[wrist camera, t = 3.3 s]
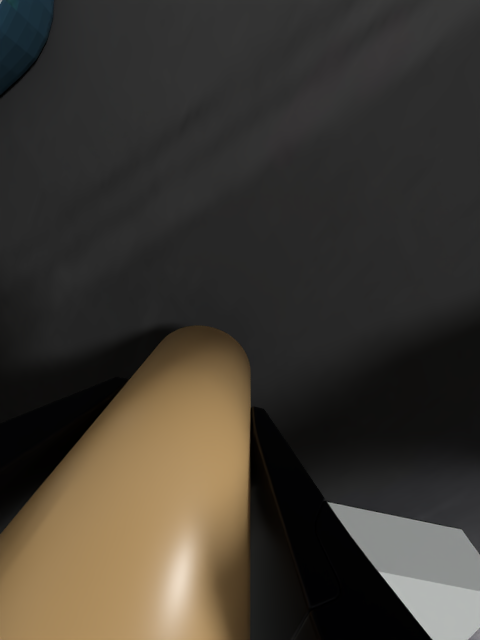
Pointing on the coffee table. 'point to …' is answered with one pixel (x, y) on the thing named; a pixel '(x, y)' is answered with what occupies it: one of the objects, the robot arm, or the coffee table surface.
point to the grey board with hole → (422, 568)
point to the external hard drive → (22, 36)
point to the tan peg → (144, 510)
